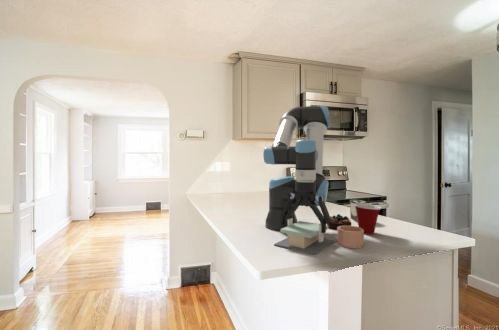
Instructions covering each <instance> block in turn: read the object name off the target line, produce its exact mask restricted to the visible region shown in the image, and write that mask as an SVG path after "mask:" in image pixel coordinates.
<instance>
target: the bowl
mask: <svg viewBox="0 0 499 330" xmlns="http://www.w3.org/2000/svg"><path fill="white" fill-rule="evenodd" d="M364 238H365V234H364V230H363V229H362V228H360V227H359V226H355V225H351V226H339V227H337V231H336V242H337V245H338V246H340V247H342V248H346V249H361V248H363V247H364V241H365V239H364Z"/></svg>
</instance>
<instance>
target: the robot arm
mask: <svg viewBox="0 0 499 330" xmlns="http://www.w3.org/2000/svg"><path fill="white" fill-rule="evenodd" d="M329 112H330V111H329V107H328V106H326V105H308V106H296V107H293V108H291V109H289V110H288V111H286V112H285V113H283V115H282V116H281V118H280V119H279V123H278V124H279V125H278V126H279V127H278V130H277V133H276V136H275V138H274V140H273V143H272V145H270V146H266V147H264V149H263V154H262V157H263V161H264V163H265V164H267V165H295V172H294V173H295V175H294V176H281V177H280V176H279V177H276V178H271V179H270V181H269V185H268V187H269V188H268V212H267V215H266V218H265V223H264V225H265V227H266V228H267V229H269V230H270V229H271V230H275V231H280V229H282V228H285V227H287V226H289V225H292V224H294V223H297V222H299V221H298V219H297V215H296V211H297V210H298V208H299V207H300V206H301V207H307V208H308V207H309V208H310V209H311V210H312V212H313V213H314V215H315V217H316V218H317V220H318V221H319V222H320V223H318V224H319V242H322V241H324V238H325V237H324V234H325V233H326V232H327V230H326V225H327V223H330V222H331V218H330V217H331V216H330V213H329V211H328V208H327V206H326V202H327V198H328V191H329V184H330V183H329V181H328V180H327V179H326V176H325V175H324V174H323V161H324V160H323V159H324V158H323V157H324V134H325V133H326V132H327V131H328V129H330V128H331V122H330V121H331V120H330V113H329ZM296 130H303V132H304V133H305V139H297V140H296V141H295V145H293V146H291V142H292V140H293V136H294V133H295V131H296ZM319 208H320V209H319ZM287 237H289V234H287Z"/></svg>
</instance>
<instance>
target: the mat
mask: <svg viewBox="0 0 499 330" xmlns="http://www.w3.org/2000/svg"><path fill="white" fill-rule="evenodd" d="M333 243H335V240H334V239H330V238H325V237H324V241H322V242H319V234H318V235H316V236H314V237H312V238H307V237H302V236H297V235H291V234H289V236H287V237H286V238H284V239H282V240H280V241H277V242H276V243H274V245H273V246H274V247H279V248H282V249H283V248H284V249H288V250H293V251H296V252H301V253H305V254H309V255H315V256H316V255H317V254H319V253H320V252H322V251H324V249H326V248H327V247H329V246H330V245H331V244H333Z"/></svg>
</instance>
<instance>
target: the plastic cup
mask: <svg viewBox="0 0 499 330" xmlns="http://www.w3.org/2000/svg"><path fill="white" fill-rule="evenodd" d="M354 205H355V208H356V213H357V220H358V223H357V225H358V227H360V228H362V229H363V230H364V235H374V234H375V230H376V226H377V222H378V217H379V215H380V214H379V213H380V211H381V210H382V207H381V206H378V205H374V204H369V203H366V204H354Z"/></svg>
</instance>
